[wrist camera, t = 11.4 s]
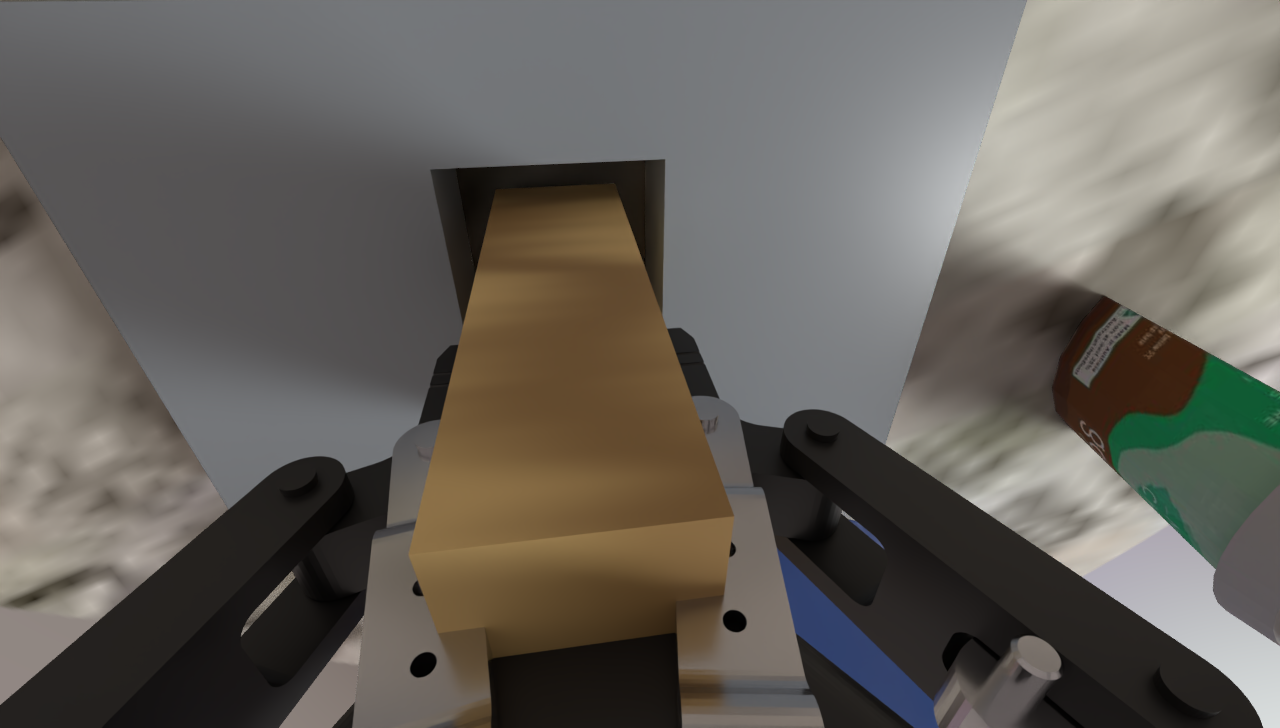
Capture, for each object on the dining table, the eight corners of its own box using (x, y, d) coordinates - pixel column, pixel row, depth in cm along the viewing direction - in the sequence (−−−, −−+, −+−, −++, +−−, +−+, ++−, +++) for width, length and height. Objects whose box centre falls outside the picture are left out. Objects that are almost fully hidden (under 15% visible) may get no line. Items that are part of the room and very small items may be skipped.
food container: (957, 411, 22) (1197, 657, 14) (1078, 281, 20) (1466, 493, 11) (1135, 479, 27) (1398, 698, 18) (1256, 380, 24) (1628, 587, 16)
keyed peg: (524, 382, 17) (504, 811, 8) (495, 188, 14) (408, 555, 5) (620, 374, 18) (700, 776, 9) (614, 183, 14) (734, 516, 5)
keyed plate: (50, -1, 12) (-83, 2, 9) (943, -9, 14) (1029, -9, 11) (290, 479, 19) (253, 550, 17) (836, 423, 22) (873, 480, 19)
